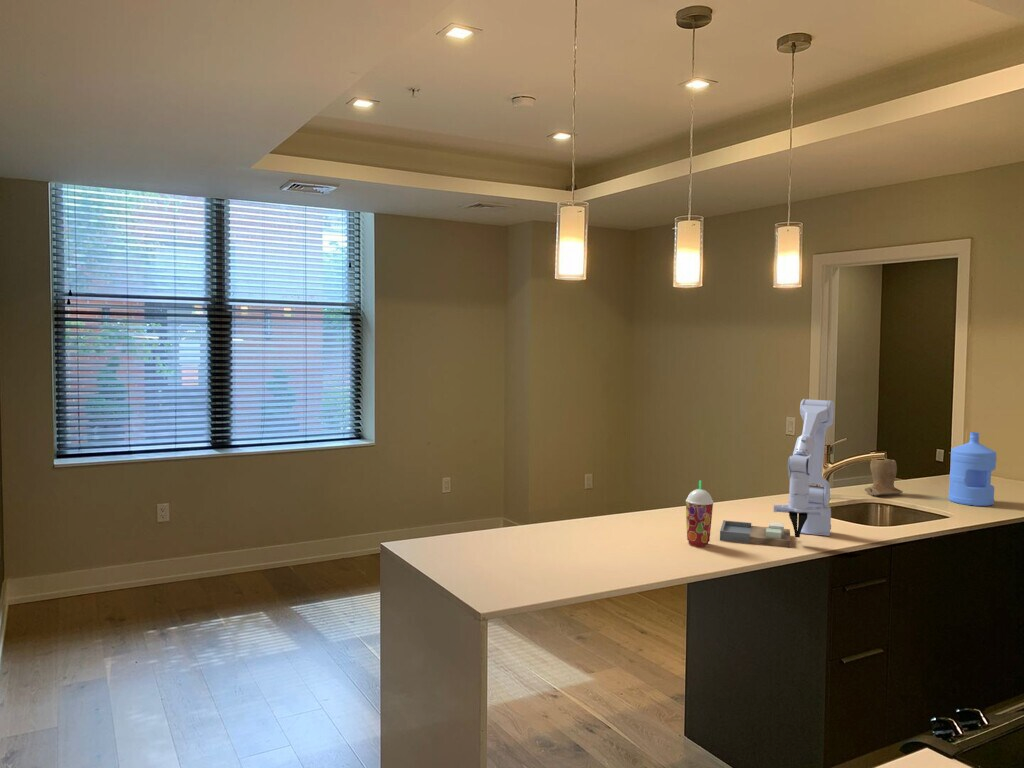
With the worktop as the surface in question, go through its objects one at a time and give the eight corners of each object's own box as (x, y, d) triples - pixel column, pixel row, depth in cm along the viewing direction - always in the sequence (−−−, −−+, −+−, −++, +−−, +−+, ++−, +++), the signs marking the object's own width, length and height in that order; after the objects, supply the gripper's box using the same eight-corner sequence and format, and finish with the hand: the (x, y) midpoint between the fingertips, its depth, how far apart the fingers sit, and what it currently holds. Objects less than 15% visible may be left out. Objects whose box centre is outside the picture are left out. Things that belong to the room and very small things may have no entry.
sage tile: (780, 535, 244) (781, 529, 244) (781, 538, 240) (781, 533, 240) (766, 533, 246) (766, 528, 246) (765, 537, 242) (766, 531, 241)
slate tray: (751, 531, 256) (751, 522, 256) (749, 543, 242) (749, 533, 242) (723, 529, 259) (723, 520, 259) (719, 540, 245) (720, 530, 244)
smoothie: (707, 540, 244) (709, 478, 242) (715, 548, 236) (717, 483, 234) (681, 540, 244) (683, 477, 242) (688, 548, 235) (690, 483, 234)
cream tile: (783, 531, 249) (783, 523, 249) (783, 534, 245) (783, 526, 245) (768, 529, 251) (769, 522, 251) (768, 533, 247) (768, 525, 246)
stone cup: (883, 490, 329) (885, 455, 328) (907, 496, 318) (908, 460, 317) (856, 492, 324) (857, 457, 323) (878, 498, 313) (880, 461, 312)
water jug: (939, 499, 311) (943, 430, 309) (965, 497, 318) (968, 429, 316) (976, 508, 297) (980, 435, 295) (1002, 504, 304) (1007, 434, 302)
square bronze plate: (789, 535, 252) (789, 529, 252) (790, 547, 238) (790, 540, 238) (751, 531, 256) (751, 525, 256) (749, 543, 242) (749, 536, 242)
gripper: (774, 493, 238) (772, 537, 239) (824, 497, 234) (823, 542, 235) (774, 489, 245) (772, 531, 246) (823, 493, 240) (821, 536, 241)
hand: (797, 536), depth 241 cm, fingers closed
